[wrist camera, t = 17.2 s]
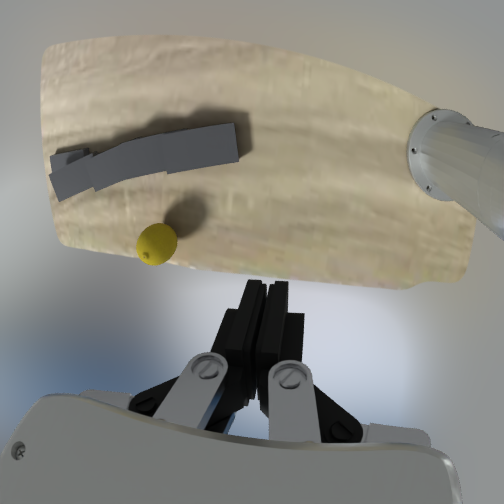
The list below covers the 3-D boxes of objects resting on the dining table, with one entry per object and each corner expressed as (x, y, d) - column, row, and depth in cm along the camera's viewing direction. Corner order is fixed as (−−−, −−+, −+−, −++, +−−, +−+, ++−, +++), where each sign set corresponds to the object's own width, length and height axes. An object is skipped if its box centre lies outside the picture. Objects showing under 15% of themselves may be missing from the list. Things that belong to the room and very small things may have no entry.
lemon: (159, 209, 42) (132, 231, 35) (190, 227, 42) (168, 252, 35) (148, 237, 44) (123, 261, 37) (177, 254, 45) (155, 282, 38)
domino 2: (92, 153, 36) (48, 174, 36) (102, 182, 39) (59, 202, 38) (96, 151, 38) (54, 172, 38) (106, 179, 40) (64, 198, 40)
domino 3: (137, 137, 35) (84, 161, 35) (148, 170, 37) (95, 191, 37) (141, 136, 36) (89, 158, 36) (151, 168, 39) (100, 188, 39)
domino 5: (237, 159, 36) (169, 171, 35) (232, 122, 34) (163, 134, 33) (239, 161, 34) (167, 174, 34) (234, 122, 32) (160, 135, 31)
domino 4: (186, 128, 33) (120, 143, 33) (191, 165, 36) (127, 179, 35) (187, 128, 35) (124, 142, 34) (192, 163, 37) (130, 176, 37)
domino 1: (83, 149, 37) (49, 156, 39) (87, 179, 40) (53, 182, 41) (90, 147, 39) (57, 153, 40) (94, 175, 41) (61, 179, 43)
